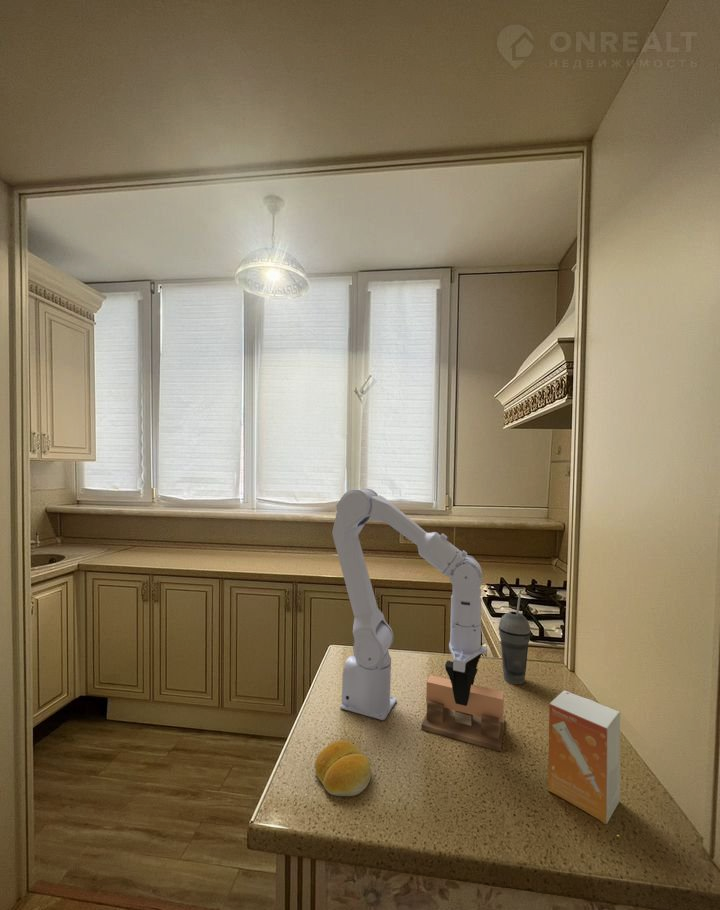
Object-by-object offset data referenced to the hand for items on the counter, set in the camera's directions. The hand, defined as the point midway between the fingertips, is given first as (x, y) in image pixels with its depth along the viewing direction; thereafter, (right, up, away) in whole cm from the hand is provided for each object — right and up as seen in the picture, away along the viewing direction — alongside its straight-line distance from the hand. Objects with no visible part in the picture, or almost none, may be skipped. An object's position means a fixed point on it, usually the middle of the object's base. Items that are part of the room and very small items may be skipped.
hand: (464, 694), depth 77 cm
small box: (+13, -5, -17) cm, 22 cm away
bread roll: (-23, -5, -14) cm, 27 cm away
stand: (0, -6, 0) cm, 6 cm away
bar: (0, -3, 0) cm, 3 cm away
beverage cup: (+16, -7, +18) cm, 25 cm away
